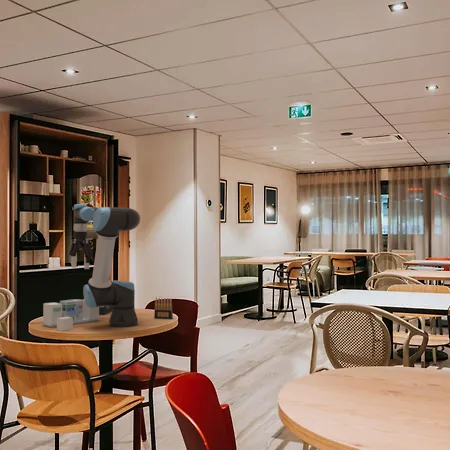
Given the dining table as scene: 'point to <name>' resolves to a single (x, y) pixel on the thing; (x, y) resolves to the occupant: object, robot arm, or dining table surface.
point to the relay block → (65, 323)
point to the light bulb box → (72, 309)
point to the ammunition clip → (163, 309)
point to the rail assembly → (55, 311)
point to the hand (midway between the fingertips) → (80, 268)
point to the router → (105, 309)
